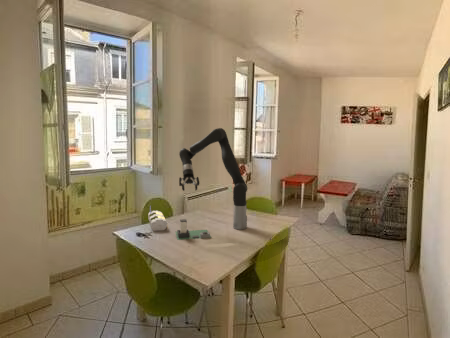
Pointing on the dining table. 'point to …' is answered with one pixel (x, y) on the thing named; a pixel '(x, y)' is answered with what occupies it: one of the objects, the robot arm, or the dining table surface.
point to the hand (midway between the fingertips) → (190, 190)
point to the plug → (183, 226)
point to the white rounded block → (157, 220)
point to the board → (192, 234)
